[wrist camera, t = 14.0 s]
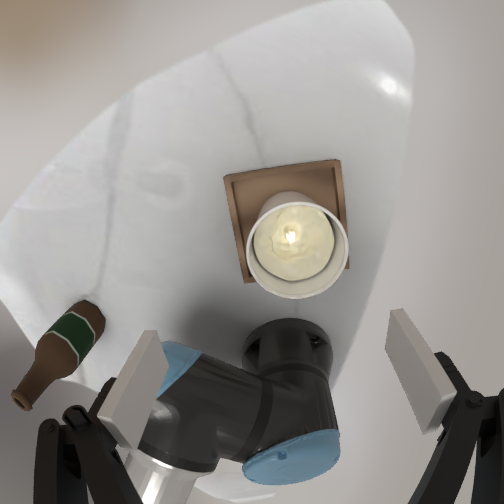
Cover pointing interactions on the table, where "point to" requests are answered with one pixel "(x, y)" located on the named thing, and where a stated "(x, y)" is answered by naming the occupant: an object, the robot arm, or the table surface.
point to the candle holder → (296, 246)
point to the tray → (278, 180)
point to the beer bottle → (60, 351)
